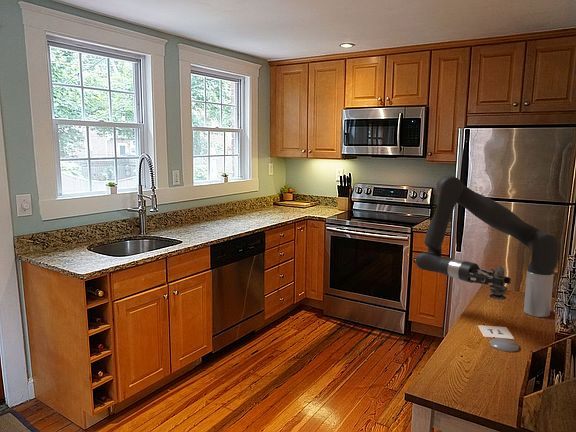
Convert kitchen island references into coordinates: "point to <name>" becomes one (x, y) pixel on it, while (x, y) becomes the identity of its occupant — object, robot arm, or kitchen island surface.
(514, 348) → the coaster
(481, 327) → the card
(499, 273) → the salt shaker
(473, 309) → the kitchen island surface
